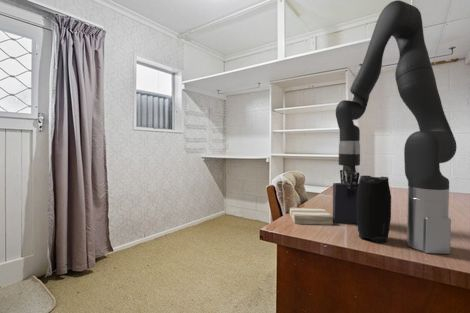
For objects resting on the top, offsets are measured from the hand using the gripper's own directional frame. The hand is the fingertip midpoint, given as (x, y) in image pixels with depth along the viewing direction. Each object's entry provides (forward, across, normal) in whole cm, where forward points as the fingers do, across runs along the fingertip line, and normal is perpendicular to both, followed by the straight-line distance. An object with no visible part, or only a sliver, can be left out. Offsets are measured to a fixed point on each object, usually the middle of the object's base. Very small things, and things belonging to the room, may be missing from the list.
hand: (348, 197), depth 95 cm
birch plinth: (+10, +3, +14) cm, 17 cm away
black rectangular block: (+10, 0, 0) cm, 10 cm away
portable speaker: (+10, -18, -1) cm, 21 cm away
